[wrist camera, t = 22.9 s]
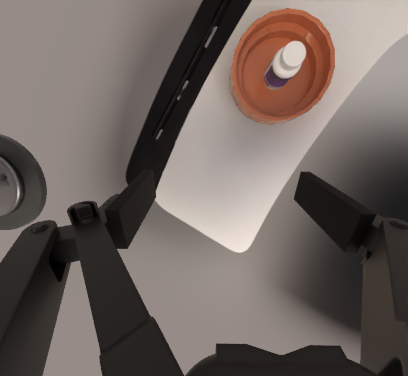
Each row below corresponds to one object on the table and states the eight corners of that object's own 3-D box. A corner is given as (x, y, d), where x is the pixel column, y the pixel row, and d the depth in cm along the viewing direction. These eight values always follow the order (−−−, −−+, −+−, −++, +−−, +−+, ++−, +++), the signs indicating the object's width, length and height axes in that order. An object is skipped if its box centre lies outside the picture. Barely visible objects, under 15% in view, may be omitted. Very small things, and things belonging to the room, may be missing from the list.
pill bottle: (284, 91, 34) (307, 71, 26) (261, 90, 34) (276, 70, 26) (288, 65, 33) (313, 36, 25) (264, 64, 34) (281, 34, 25)
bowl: (214, 99, 36) (214, 92, 31) (258, 10, 32) (265, -13, 28) (287, 139, 37) (297, 137, 32) (337, 56, 33) (356, 40, 29)
